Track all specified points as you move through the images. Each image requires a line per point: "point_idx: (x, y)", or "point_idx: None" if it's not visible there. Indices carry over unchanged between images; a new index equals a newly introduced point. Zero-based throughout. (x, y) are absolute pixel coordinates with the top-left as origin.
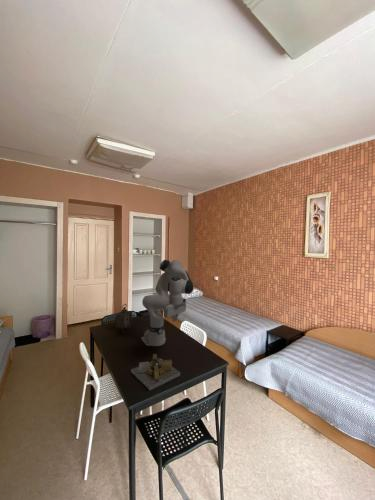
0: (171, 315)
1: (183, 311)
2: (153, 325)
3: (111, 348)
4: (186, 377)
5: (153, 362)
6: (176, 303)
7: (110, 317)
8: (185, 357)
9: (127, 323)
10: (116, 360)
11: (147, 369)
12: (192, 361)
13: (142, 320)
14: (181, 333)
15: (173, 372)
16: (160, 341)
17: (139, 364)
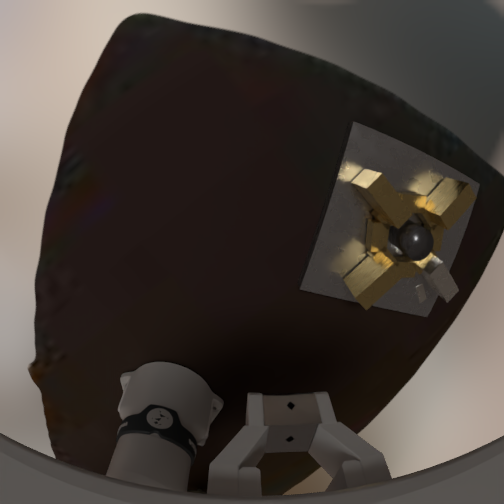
0: (502, 456)
1: (35, 457)
2: (186, 464)
3: None
4: (342, 89)
5: (421, 256)
6: None
7: None
8: (185, 196)
9: None
10: (375, 397)
11: (436, 255)
12: (196, 139)
13: None
14: (39, 346)
15: (373, 150)
16: (174, 379)
17: (457, 290)
